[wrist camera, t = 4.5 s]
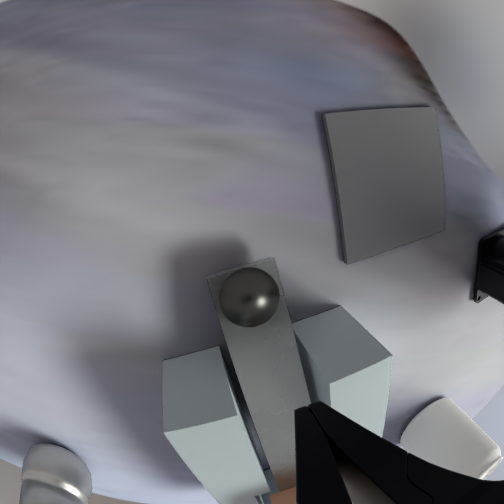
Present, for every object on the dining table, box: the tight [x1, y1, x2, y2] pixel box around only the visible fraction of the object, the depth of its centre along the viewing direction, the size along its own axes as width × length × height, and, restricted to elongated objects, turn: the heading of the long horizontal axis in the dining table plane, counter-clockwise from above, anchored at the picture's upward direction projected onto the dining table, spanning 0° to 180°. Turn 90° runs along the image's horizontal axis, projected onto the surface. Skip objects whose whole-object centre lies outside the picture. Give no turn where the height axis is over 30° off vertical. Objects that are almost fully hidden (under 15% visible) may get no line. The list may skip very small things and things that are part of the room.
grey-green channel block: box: [163, 306, 393, 504], centre depth 19 cm, size 18×12×6 cm, turn 13°
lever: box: [206, 258, 311, 492], centre depth 16 cm, size 21×4×1 cm, turn 12°
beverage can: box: [400, 398, 503, 480], centre depth 23 cm, size 8×8×12 cm
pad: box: [322, 107, 445, 265], centre depth 18 cm, size 9×9×1 cm
